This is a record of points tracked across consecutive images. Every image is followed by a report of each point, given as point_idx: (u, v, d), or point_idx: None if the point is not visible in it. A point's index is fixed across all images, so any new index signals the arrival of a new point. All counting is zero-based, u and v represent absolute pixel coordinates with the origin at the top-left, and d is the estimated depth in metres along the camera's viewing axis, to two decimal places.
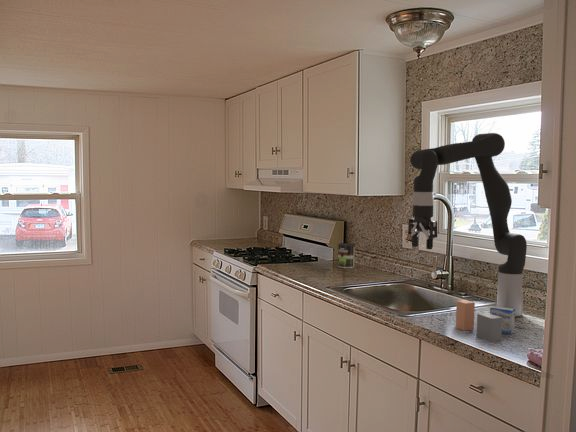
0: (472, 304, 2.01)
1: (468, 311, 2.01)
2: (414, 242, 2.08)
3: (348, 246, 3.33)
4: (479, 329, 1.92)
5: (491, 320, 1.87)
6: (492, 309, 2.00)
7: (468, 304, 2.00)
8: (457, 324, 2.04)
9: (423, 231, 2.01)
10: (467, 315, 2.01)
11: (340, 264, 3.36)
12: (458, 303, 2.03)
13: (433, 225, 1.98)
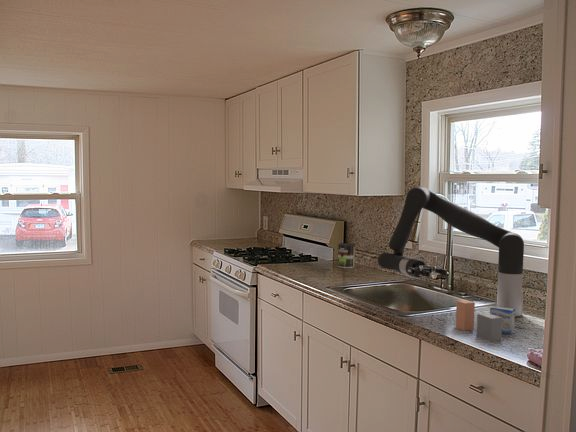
0: (472, 304, 2.01)
1: (468, 311, 2.01)
2: (443, 273, 2.20)
3: (348, 246, 3.33)
4: (479, 329, 1.92)
5: (491, 320, 1.87)
6: (492, 309, 2.00)
7: (468, 304, 2.00)
8: (457, 324, 2.04)
9: None
10: (467, 315, 2.01)
11: (340, 264, 3.36)
12: (458, 303, 2.03)
13: (409, 271, 2.22)
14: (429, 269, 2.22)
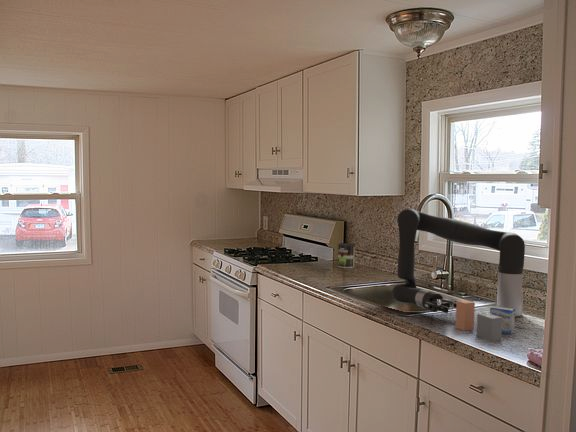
0: (472, 304, 2.01)
1: (468, 311, 2.01)
2: None
3: (348, 246, 3.33)
4: (479, 329, 1.92)
5: (491, 320, 1.87)
6: (492, 309, 2.00)
7: (468, 304, 2.00)
8: (457, 324, 2.04)
9: None
10: (467, 315, 2.01)
11: (340, 264, 3.36)
12: (458, 303, 2.03)
13: (426, 306, 2.12)
14: (447, 304, 2.13)
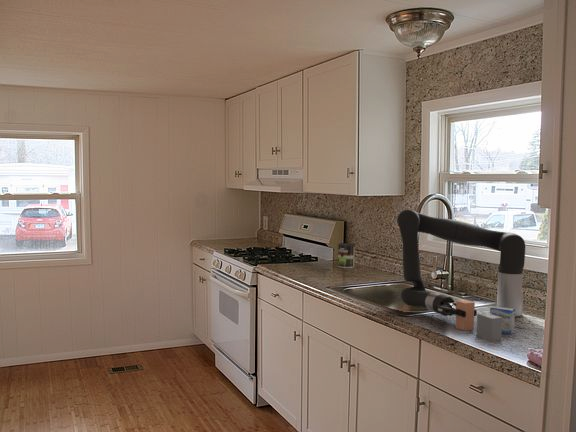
0: (472, 304, 2.01)
1: (468, 311, 2.01)
2: None
3: (348, 246, 3.33)
4: (479, 329, 1.92)
5: (491, 320, 1.87)
6: (492, 309, 2.00)
7: (468, 304, 2.00)
8: (457, 324, 2.04)
9: (453, 314, 2.06)
10: (467, 315, 2.01)
11: (340, 264, 3.36)
12: (458, 303, 2.03)
13: (440, 311, 2.06)
14: None
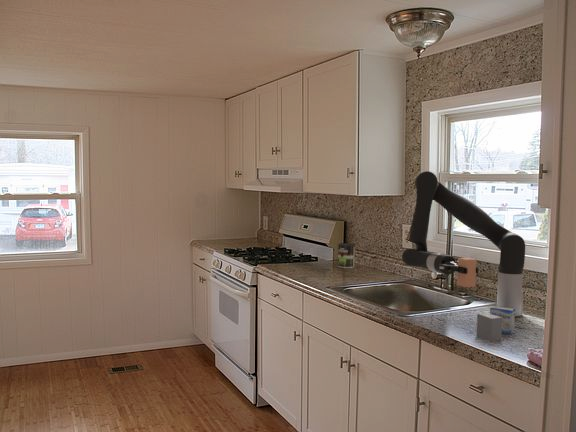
0: (474, 261, 2.00)
1: (470, 268, 1.99)
2: None
3: (348, 246, 3.33)
4: (479, 329, 1.92)
5: (491, 320, 1.87)
6: (492, 309, 2.00)
7: (470, 261, 1.99)
8: (458, 282, 2.03)
9: (454, 272, 2.05)
10: (469, 272, 1.99)
11: (340, 264, 3.36)
12: (460, 260, 2.02)
13: (442, 269, 2.04)
14: None
